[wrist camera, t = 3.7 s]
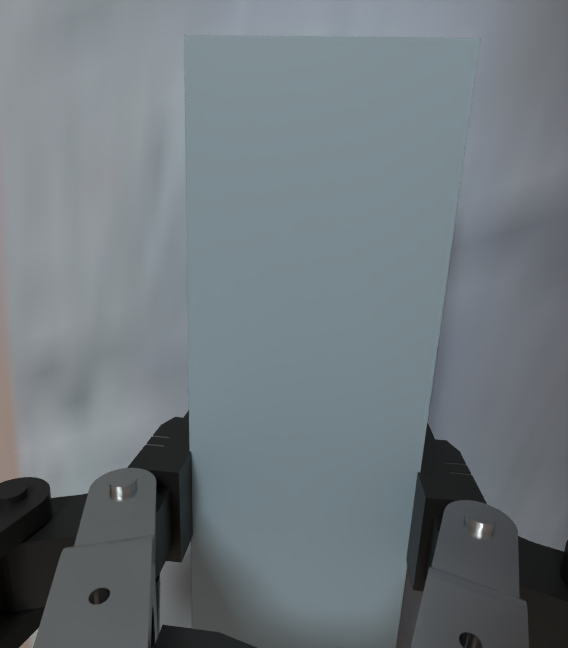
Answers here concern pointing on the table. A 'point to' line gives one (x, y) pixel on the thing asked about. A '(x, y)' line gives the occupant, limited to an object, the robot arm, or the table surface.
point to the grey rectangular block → (314, 321)
